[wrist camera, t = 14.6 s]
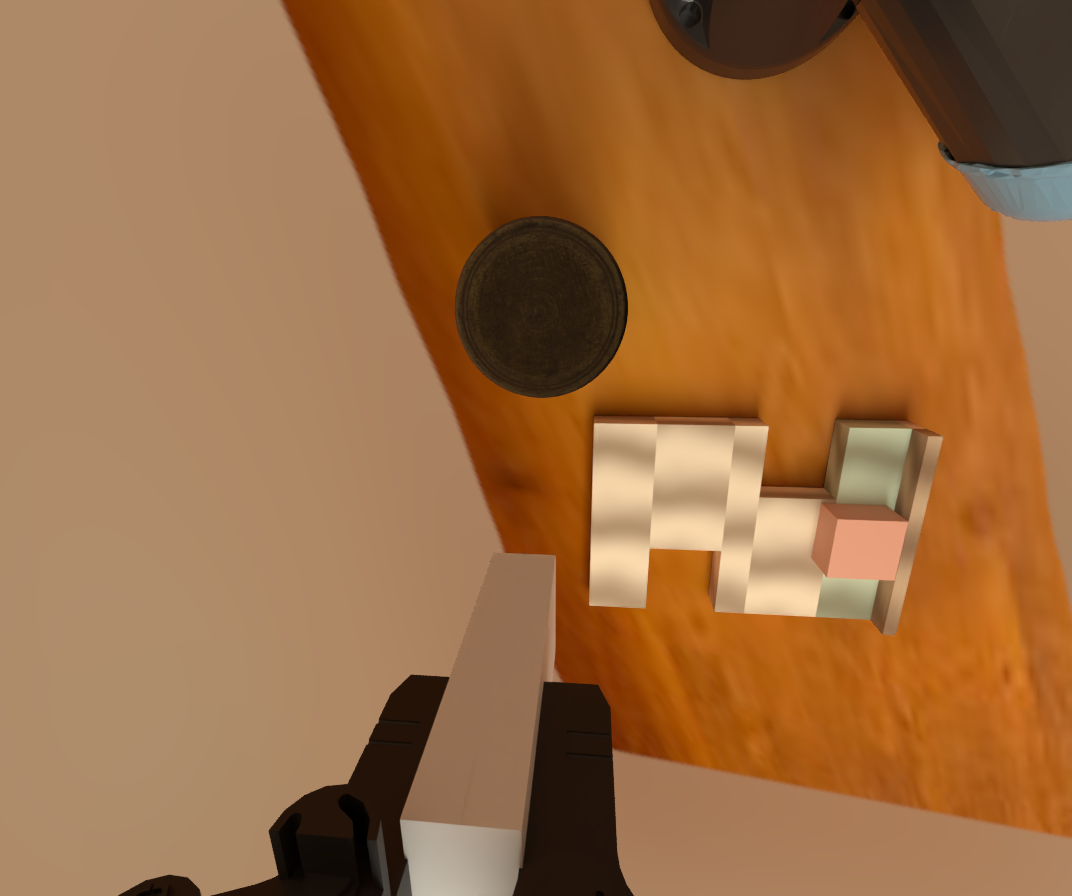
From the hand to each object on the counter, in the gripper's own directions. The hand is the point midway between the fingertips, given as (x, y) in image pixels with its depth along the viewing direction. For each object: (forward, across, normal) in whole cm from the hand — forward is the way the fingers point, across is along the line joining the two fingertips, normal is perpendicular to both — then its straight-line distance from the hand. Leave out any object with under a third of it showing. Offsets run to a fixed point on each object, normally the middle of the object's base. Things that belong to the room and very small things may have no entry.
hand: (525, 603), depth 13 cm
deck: (+32, +14, -12) cm, 37 cm away
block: (+30, +23, -12) cm, 40 cm away
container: (+33, -1, +6) cm, 33 cm away
